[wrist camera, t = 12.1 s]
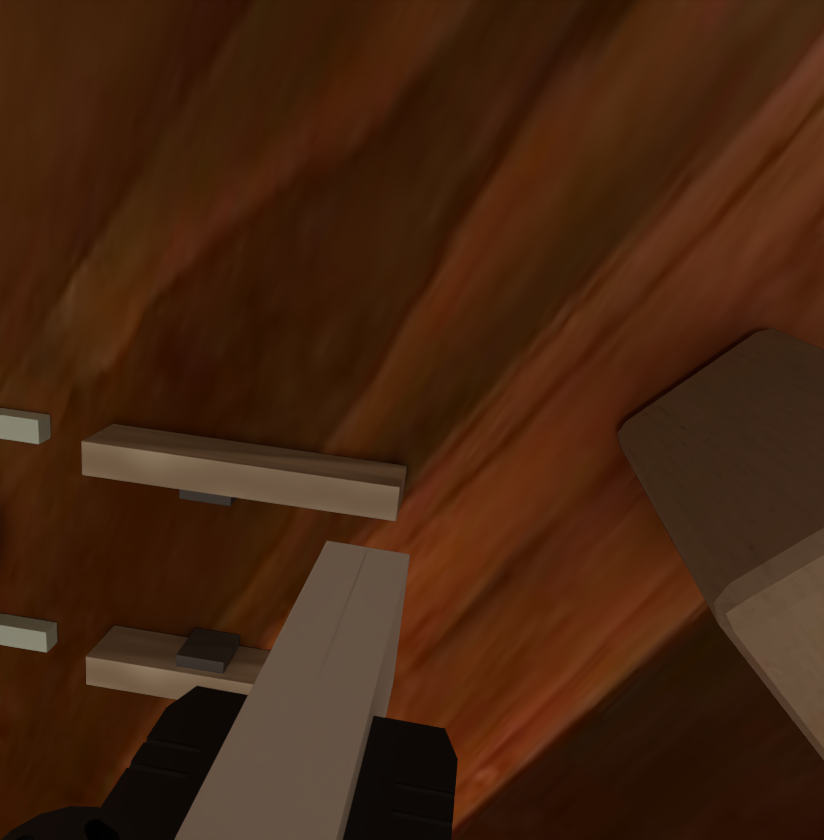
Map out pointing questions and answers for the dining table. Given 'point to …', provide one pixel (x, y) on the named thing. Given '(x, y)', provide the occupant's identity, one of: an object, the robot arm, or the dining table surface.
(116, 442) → the twin plank rack
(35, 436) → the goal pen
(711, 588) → the wooden block
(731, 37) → the dining table surface
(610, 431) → the dining table surface
